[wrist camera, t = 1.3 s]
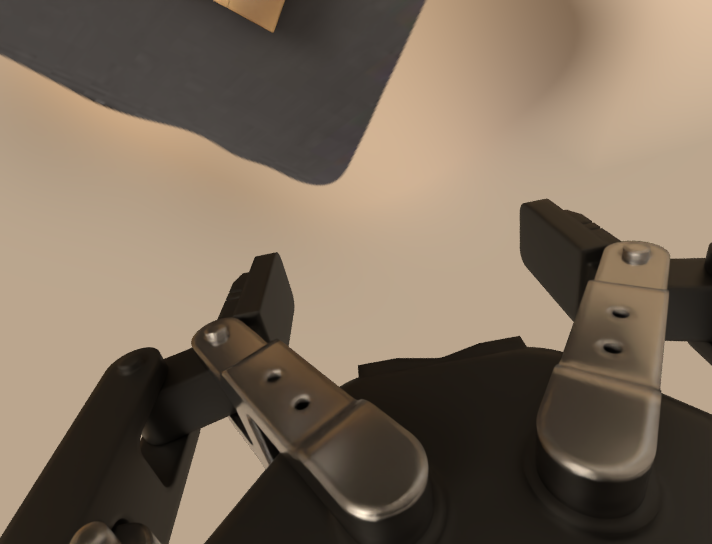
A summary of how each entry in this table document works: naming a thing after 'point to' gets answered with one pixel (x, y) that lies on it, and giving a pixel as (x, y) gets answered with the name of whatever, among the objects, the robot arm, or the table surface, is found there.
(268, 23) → the wooden block with hole
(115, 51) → the table surface
